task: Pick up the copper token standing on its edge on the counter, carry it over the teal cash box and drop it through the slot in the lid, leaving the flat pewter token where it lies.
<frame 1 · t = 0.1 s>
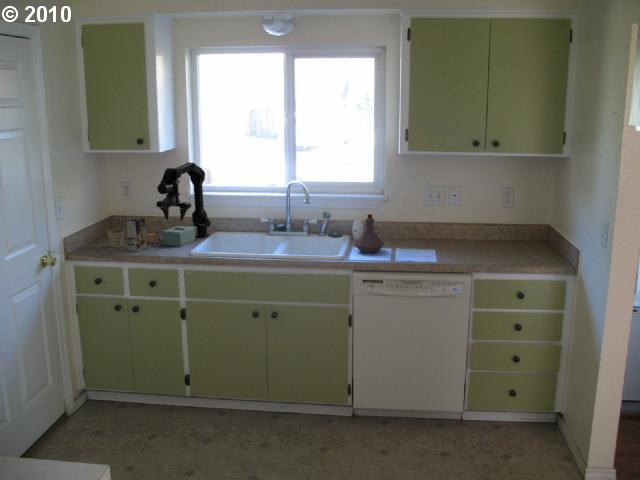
hand: (174, 220, 354), 15 cm above the counter, tool pointing down, fingers open, 9 cm apart
flower pot: (116, 246, 356), on the counter
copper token: (151, 242, 366), on the counter
pewter token: (165, 239, 376), on the counter
cash box: (179, 242, 366), on the counter
flask: (369, 252, 347), on the counter
coffee box: (137, 249, 351), on the counter
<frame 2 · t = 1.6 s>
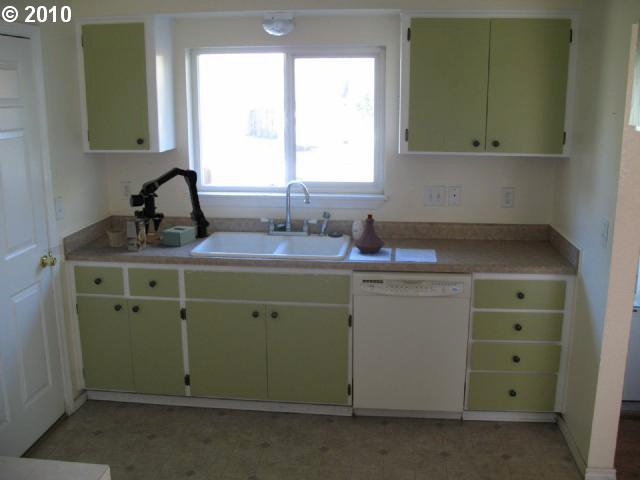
hand: (151, 233, 365), 6 cm above the counter, tool pointing down, fingers open, 9 cm apart
nothing on the counter moved.
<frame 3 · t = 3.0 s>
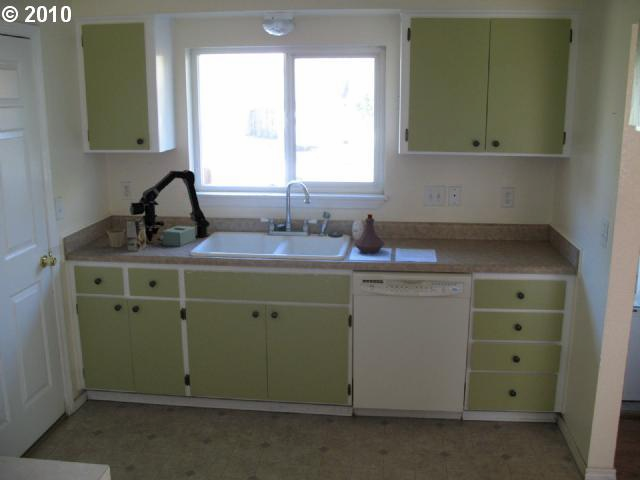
hand: (151, 240, 366), 1 cm above the counter, tool pointing down, fingers closed on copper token, 2 cm apart
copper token: (151, 242, 366), on the counter, touching gripper
everything else where it was.
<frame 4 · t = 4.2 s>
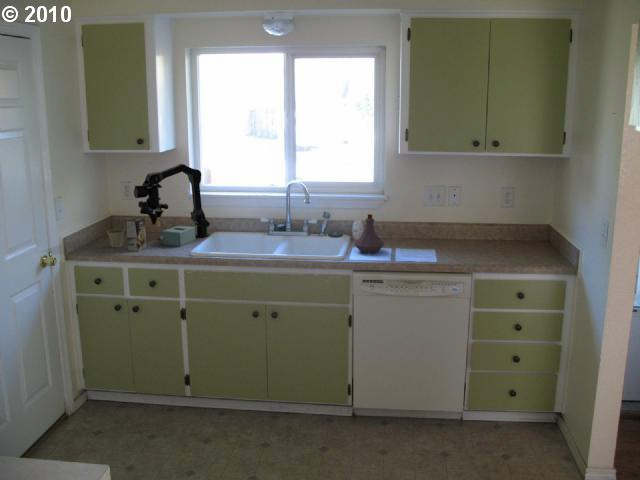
hand: (155, 224, 364), 11 cm above the counter, tool pointing down, fingers closed on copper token, 2 cm apart
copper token: (155, 225, 364), point 10 cm above the counter, touching gripper
everything else where it was.
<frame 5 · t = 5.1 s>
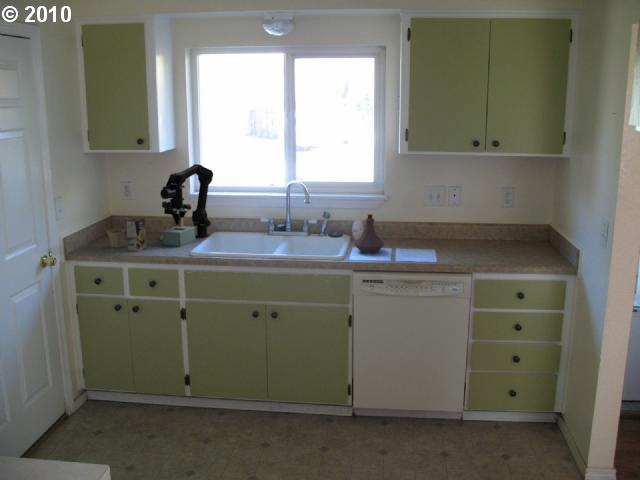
hand: (178, 224, 363), 11 cm above the counter, tool pointing down, fingers closed on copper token, 2 cm apart
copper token: (178, 226, 364), point 10 cm above the counter, touching gripper
everything else where it was.
when the fingers open (9 cm above the counter, at t = 5.5 s): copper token drops 8 cm, resting on cash box.
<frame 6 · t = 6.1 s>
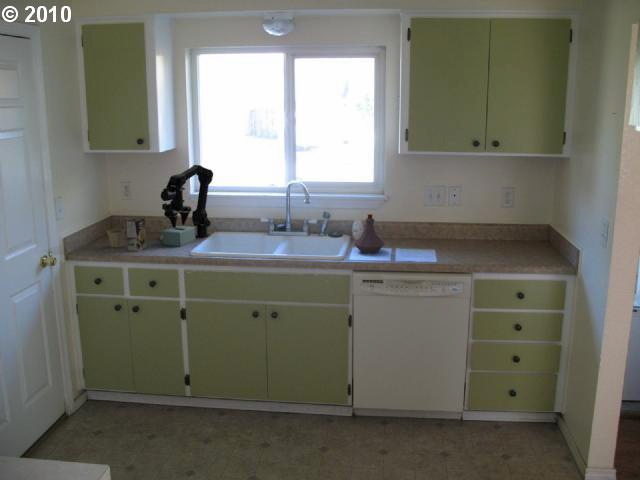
hand: (178, 226, 363), 9 cm above the counter, tool pointing down, fingers open, 9 cm apart
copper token: (179, 241, 365), point 1 cm above the counter, touching cash box
everything else where it was.
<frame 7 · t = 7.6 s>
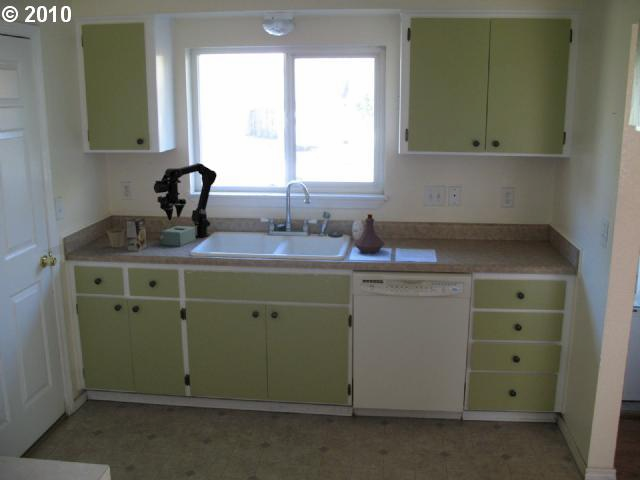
hand: (174, 218, 367), 13 cm above the counter, tool pointing down, fingers open, 9 cm apart
nothing on the counter moved.
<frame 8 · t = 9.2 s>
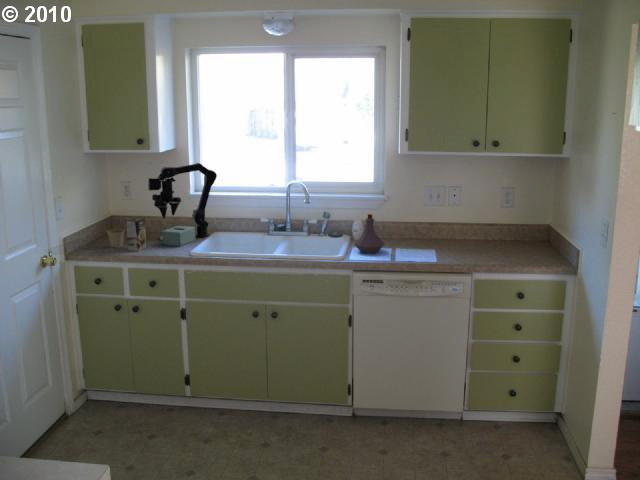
hand: (168, 216, 373), 13 cm above the counter, tool pointing down, fingers open, 9 cm apart
nothing on the counter moved.
at the end: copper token inside the target area on the cash box (0.1 cm from its centre), point 0.6 cm above the cash box's base; the gripper is holding nothing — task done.
